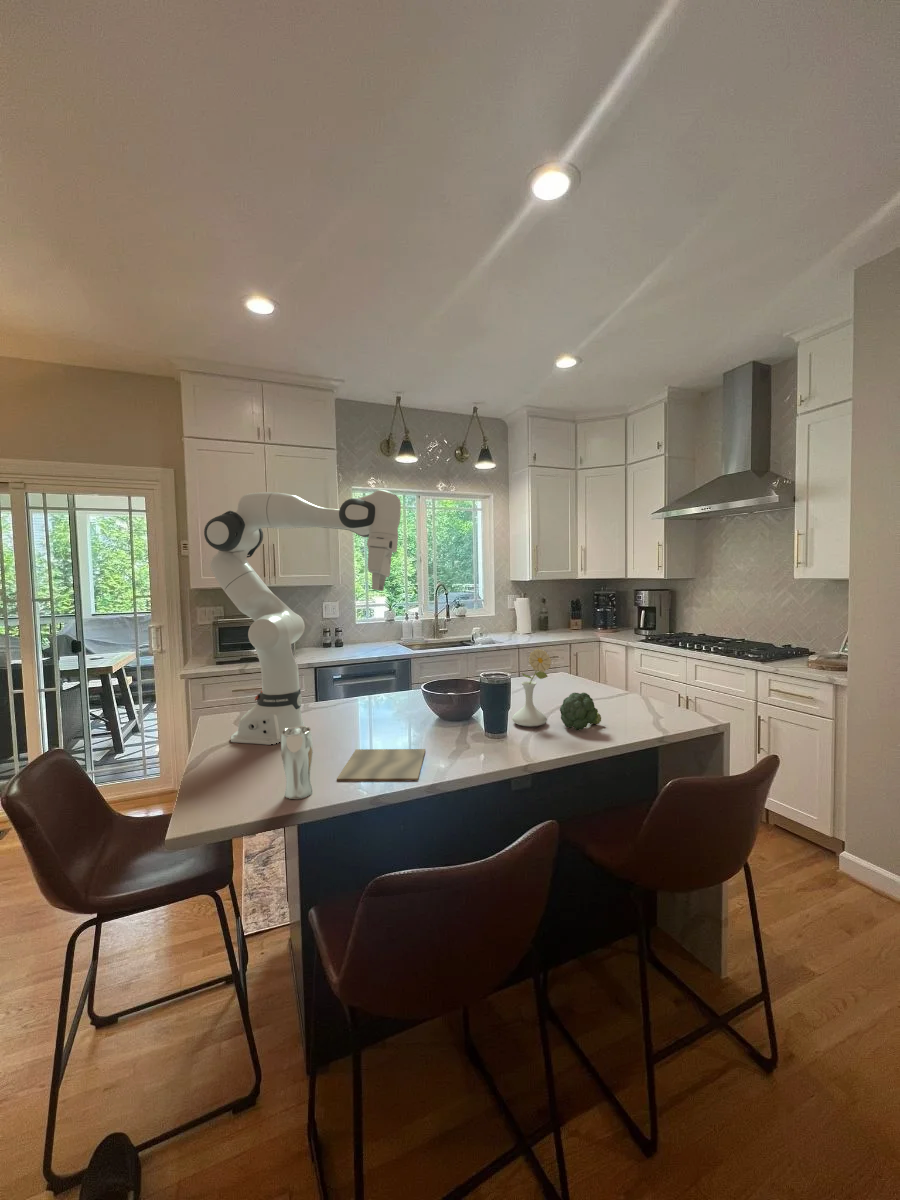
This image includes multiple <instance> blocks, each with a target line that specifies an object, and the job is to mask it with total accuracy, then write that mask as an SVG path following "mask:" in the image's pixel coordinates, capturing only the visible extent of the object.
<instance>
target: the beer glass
mask: <svg viewBox="0 0 900 1200" xmlns="http://www.w3.org/2000/svg"><path fill="white" fill-rule="evenodd" d="M313 751H314V750H313V737H312V729H311V727H310V726H306V725H304V726H297V727H291V728H287V729H285V730H283V731H282V732H281V742H280V752H281V753H280V755H281V761H282V764H283V770H284V775H285V779H286V780H285V782H286V784H285V791H284V792H285V793H284V796H285V798H286V799H287V798H289V799H288V800H290V799H299V800H302V799H301V798H303V799H305V797H306V798H308V797H310V796H312V794H313V787H312V784H311V782H312V781H311V770H312V769H311V767H312V762H313V761H312V760H313V753H314V752H313ZM309 795H310V796H309ZM307 796H308V797H307Z"/></svg>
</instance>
